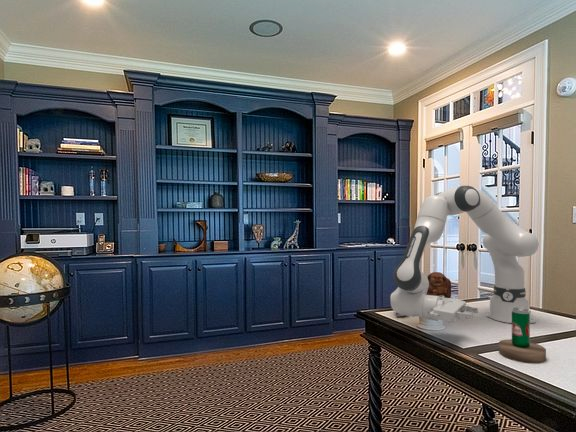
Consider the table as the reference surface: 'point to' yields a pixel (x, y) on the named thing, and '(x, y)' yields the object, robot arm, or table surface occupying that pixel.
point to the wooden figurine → (439, 285)
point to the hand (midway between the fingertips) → (475, 313)
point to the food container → (400, 315)
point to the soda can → (520, 327)
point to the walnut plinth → (522, 352)
